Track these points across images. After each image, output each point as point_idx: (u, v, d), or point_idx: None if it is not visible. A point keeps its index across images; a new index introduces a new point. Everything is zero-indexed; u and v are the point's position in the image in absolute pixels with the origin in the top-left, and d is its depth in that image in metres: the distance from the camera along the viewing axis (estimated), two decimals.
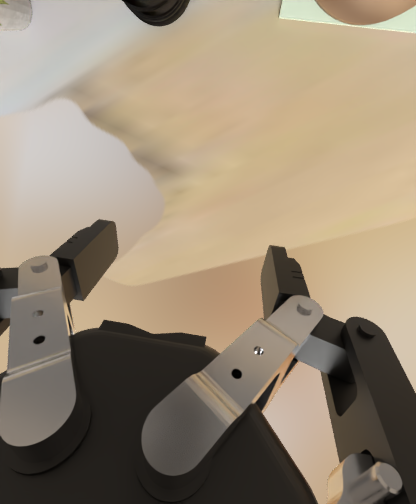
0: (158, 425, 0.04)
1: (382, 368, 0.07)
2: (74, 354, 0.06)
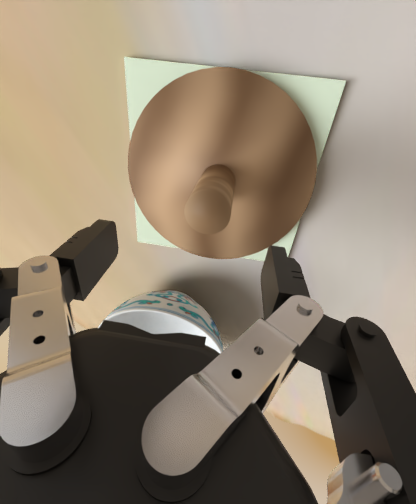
0: (158, 425, 0.04)
1: (382, 368, 0.07)
2: (74, 354, 0.06)
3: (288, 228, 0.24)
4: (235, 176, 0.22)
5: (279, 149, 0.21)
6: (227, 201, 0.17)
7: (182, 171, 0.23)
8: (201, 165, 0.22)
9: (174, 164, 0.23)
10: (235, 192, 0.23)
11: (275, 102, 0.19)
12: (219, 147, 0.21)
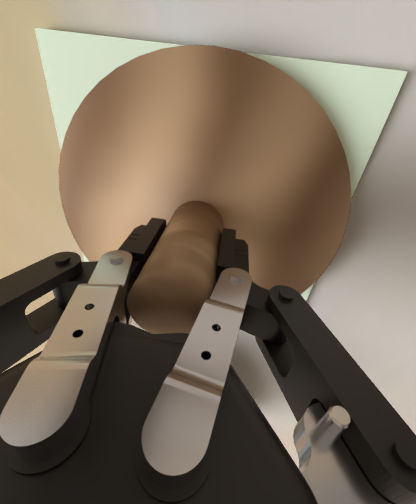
0: (158, 425, 0.04)
1: (307, 324, 0.08)
2: (103, 358, 0.06)
3: (301, 288, 0.17)
4: (223, 218, 0.15)
5: (292, 181, 0.13)
6: (204, 293, 0.09)
7: (143, 209, 0.15)
8: (171, 202, 0.14)
9: (130, 199, 0.15)
10: None
11: (288, 107, 0.11)
12: (198, 176, 0.14)
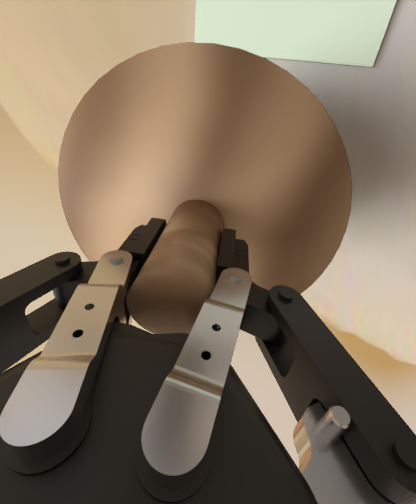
0: (158, 425, 0.04)
1: (307, 324, 0.08)
2: (103, 358, 0.06)
3: (301, 287, 0.17)
4: (223, 217, 0.15)
5: (293, 179, 0.13)
6: (204, 291, 0.09)
7: (143, 208, 0.15)
8: (171, 200, 0.14)
9: (130, 198, 0.15)
10: None
11: (289, 105, 0.11)
12: (198, 175, 0.13)
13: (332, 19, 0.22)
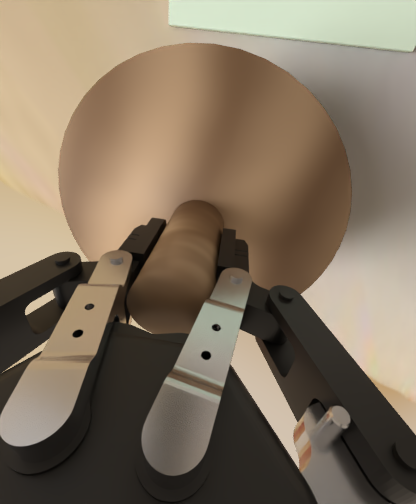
0: (158, 425, 0.04)
1: (307, 324, 0.08)
2: (103, 358, 0.06)
3: (301, 288, 0.17)
4: (223, 217, 0.15)
5: (292, 180, 0.13)
6: (204, 292, 0.09)
7: (143, 208, 0.15)
8: (171, 201, 0.14)
9: (130, 198, 0.15)
10: None
11: (289, 105, 0.11)
12: (198, 175, 0.13)
13: None
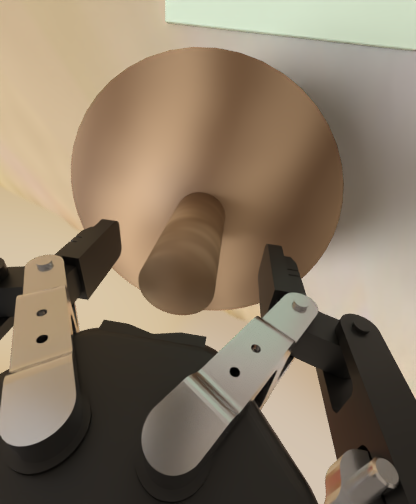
0: (158, 425, 0.04)
1: (376, 364, 0.07)
2: (76, 354, 0.06)
3: None
4: (225, 209, 0.16)
5: (289, 173, 0.14)
6: (208, 270, 0.10)
7: (149, 201, 0.16)
8: (176, 193, 0.15)
9: (137, 191, 0.16)
10: (225, 230, 0.16)
11: (285, 104, 0.12)
12: (201, 169, 0.15)
13: None
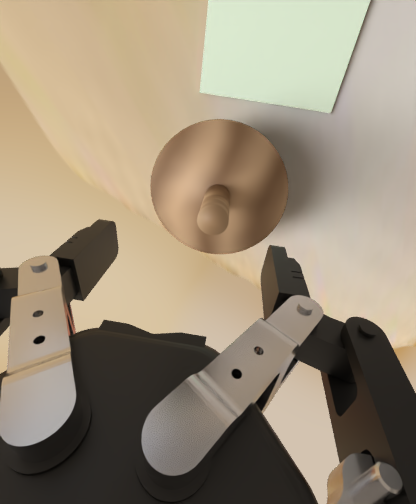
0: (158, 425, 0.04)
1: (382, 368, 0.07)
2: (74, 354, 0.06)
3: (268, 231, 0.33)
4: (230, 193, 0.31)
5: (262, 176, 0.29)
6: (226, 213, 0.25)
7: (191, 188, 0.31)
8: (206, 184, 0.30)
9: (186, 183, 0.31)
10: (230, 204, 0.31)
11: (259, 144, 0.27)
12: (219, 172, 0.29)
13: (302, 79, 0.30)
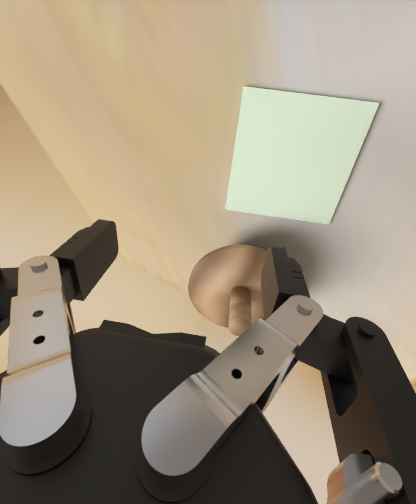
0: (158, 425, 0.04)
1: (382, 368, 0.07)
2: (74, 354, 0.06)
3: None
4: (250, 291, 0.39)
5: None
6: (250, 323, 0.34)
7: (220, 287, 0.40)
8: (231, 285, 0.39)
9: (216, 284, 0.40)
10: (250, 298, 0.40)
11: None
12: (242, 279, 0.38)
13: (305, 202, 0.39)
